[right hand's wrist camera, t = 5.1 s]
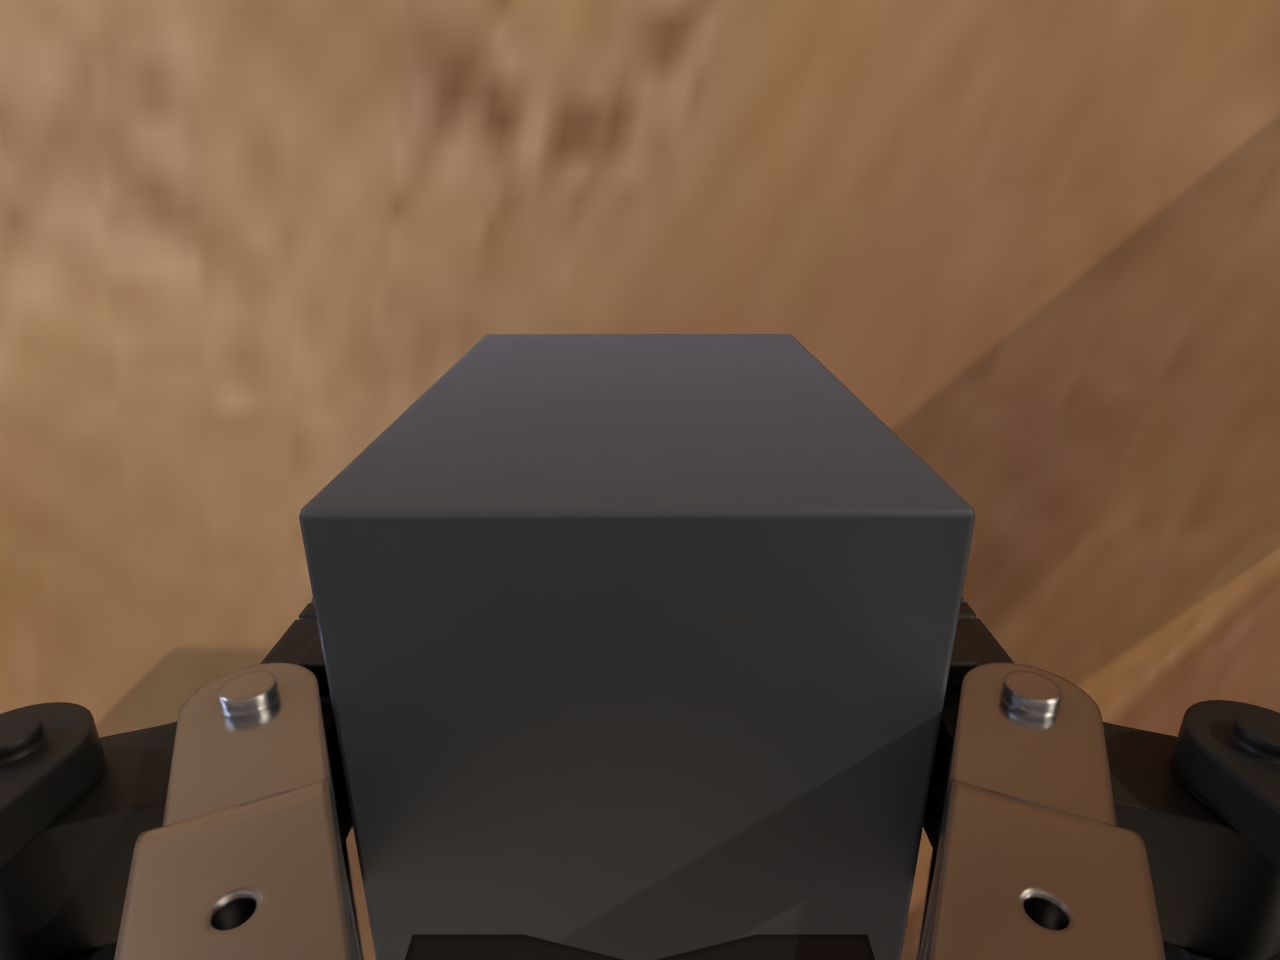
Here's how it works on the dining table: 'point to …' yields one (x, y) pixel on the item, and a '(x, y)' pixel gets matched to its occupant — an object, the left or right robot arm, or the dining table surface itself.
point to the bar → (637, 647)
